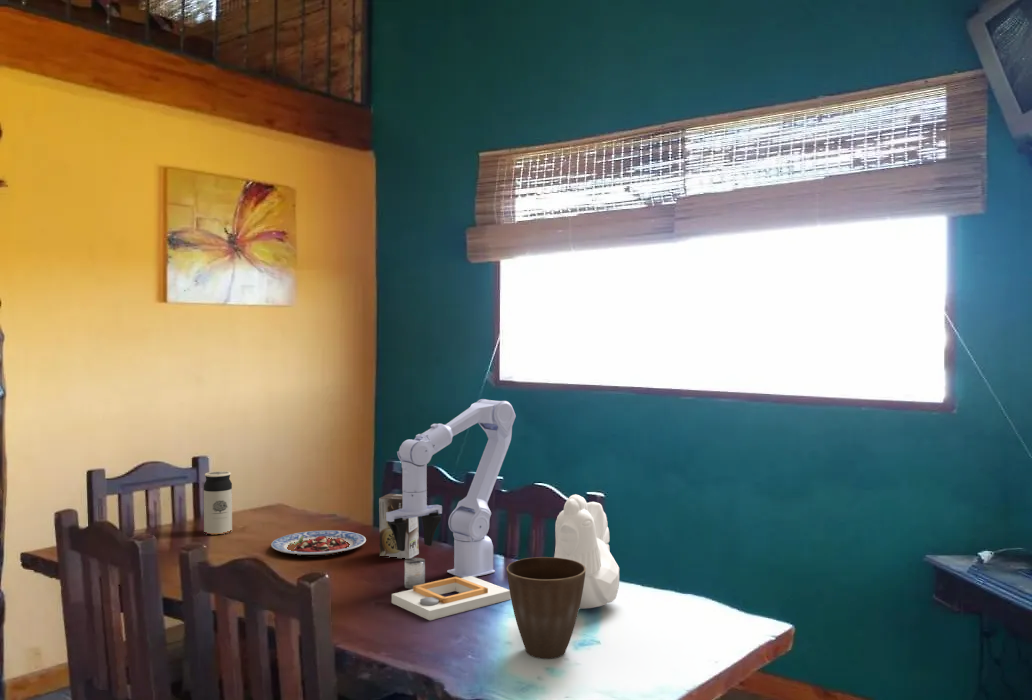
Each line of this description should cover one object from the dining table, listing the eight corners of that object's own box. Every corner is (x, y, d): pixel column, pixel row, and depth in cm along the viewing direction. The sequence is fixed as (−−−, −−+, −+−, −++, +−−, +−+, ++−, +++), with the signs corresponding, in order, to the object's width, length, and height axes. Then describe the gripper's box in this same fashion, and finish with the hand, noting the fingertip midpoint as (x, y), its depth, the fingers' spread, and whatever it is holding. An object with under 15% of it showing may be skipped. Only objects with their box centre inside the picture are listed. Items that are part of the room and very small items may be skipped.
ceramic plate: (385, 545, 240) (385, 535, 240) (318, 566, 218) (318, 555, 218) (319, 533, 254) (319, 523, 254) (251, 552, 232) (251, 541, 232)
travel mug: (205, 530, 257) (205, 471, 256) (233, 529, 259) (232, 470, 258) (202, 536, 249) (202, 475, 249) (230, 535, 251) (230, 474, 250)
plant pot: (595, 663, 153) (596, 576, 153) (515, 670, 150) (515, 581, 150) (573, 635, 168) (573, 555, 167) (499, 640, 165) (499, 559, 164)
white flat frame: (470, 584, 202) (470, 571, 202) (510, 599, 190) (510, 586, 190) (391, 602, 188) (391, 589, 188) (429, 620, 176) (429, 606, 176)
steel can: (417, 581, 204) (417, 556, 204) (428, 586, 200) (428, 560, 200) (400, 585, 201) (400, 560, 201) (411, 590, 197) (411, 564, 197)
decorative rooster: (592, 623, 174) (592, 504, 174) (529, 609, 184) (530, 495, 183) (648, 593, 194) (648, 486, 194) (589, 581, 204) (590, 479, 203)
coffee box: (419, 553, 230) (419, 494, 229) (409, 559, 224) (409, 499, 223) (389, 551, 233) (389, 492, 232) (378, 556, 227) (378, 497, 226)
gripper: (430, 484, 208) (430, 539, 208) (379, 491, 198) (379, 549, 199) (447, 488, 202) (447, 545, 203) (395, 496, 193) (395, 555, 193)
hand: (414, 547), depth 200 cm, fingers open, 7 cm apart
